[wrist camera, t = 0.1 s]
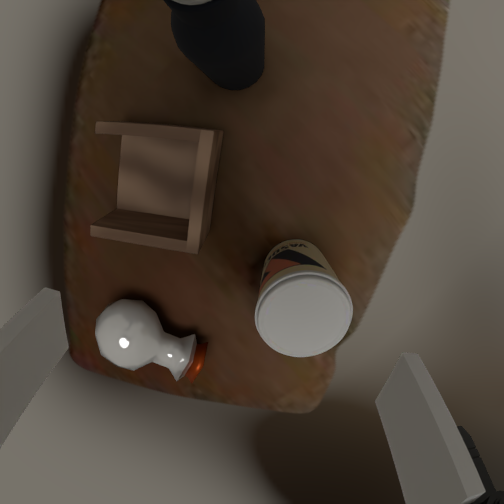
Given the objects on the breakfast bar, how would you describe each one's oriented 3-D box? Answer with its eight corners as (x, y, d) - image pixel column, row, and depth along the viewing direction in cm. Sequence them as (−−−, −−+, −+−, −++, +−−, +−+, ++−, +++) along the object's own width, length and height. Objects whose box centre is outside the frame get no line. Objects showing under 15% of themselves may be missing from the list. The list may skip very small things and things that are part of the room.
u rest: (126, 121, 34) (96, 121, 27) (224, 130, 34) (214, 131, 27) (118, 216, 39) (90, 235, 31) (209, 230, 39) (197, 254, 32)
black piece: (235, 101, 33) (130, 3, 5) (195, 66, 32) (20, -60, 4) (276, 63, 31) (316, -122, 3) (235, 28, 30) (166, -169, 2)
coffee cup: (307, 217, 38) (325, 256, 27) (343, 277, 41) (369, 330, 29) (242, 258, 40) (234, 309, 29) (282, 312, 43) (287, 373, 32)
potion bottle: (112, 286, 44) (204, 326, 48) (89, 346, 41) (181, 384, 45) (106, 284, 35) (219, 333, 39) (78, 358, 33) (192, 403, 37)
